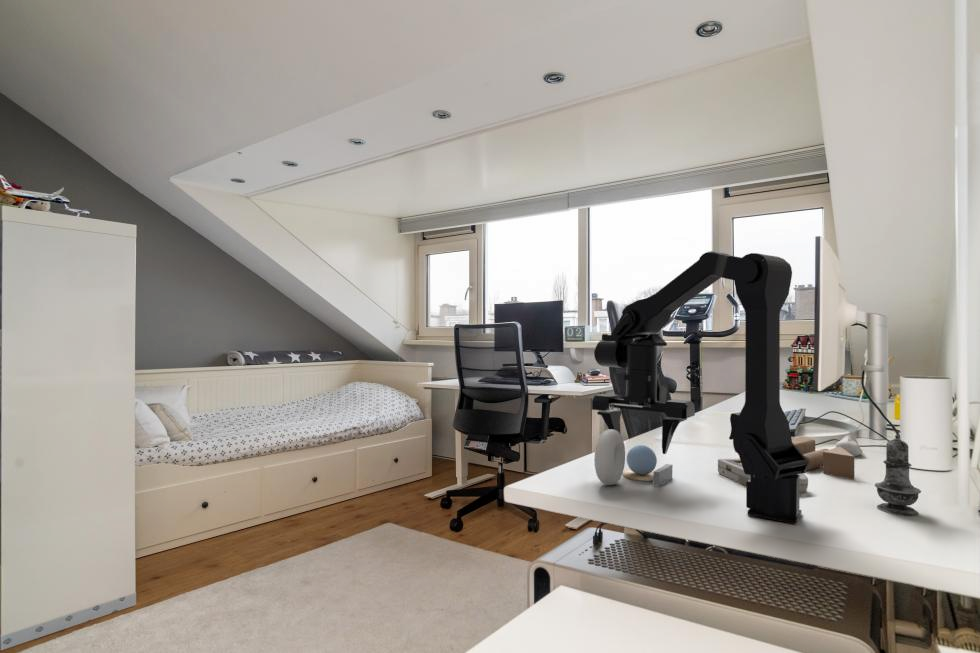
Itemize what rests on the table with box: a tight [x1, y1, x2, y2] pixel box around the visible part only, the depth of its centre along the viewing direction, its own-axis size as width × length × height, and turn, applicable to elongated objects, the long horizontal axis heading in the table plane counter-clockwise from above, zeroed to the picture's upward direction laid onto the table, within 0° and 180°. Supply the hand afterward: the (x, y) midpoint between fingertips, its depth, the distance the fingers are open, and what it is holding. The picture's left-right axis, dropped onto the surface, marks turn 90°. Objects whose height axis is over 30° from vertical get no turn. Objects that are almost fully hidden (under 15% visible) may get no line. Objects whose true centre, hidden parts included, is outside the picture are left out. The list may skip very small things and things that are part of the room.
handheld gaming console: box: [717, 458, 809, 494], centre depth 101 cm, size 9×4×15 cm
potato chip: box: [622, 469, 654, 482], centre depth 104 cm, size 7×7×1 cm
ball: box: [626, 444, 658, 475], centre depth 105 cm, size 6×6×6 cm
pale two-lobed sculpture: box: [835, 434, 864, 457], centre depth 128 cm, size 4×8×5 cm
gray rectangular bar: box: [652, 463, 673, 487], centre depth 101 cm, size 1×8×2 cm, turn 143°
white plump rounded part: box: [594, 428, 626, 486], centre depth 98 cm, size 10×4×10 cm, turn 149°
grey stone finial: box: [874, 433, 922, 517], centre depth 86 cm, size 6×6×12 cm
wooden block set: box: [791, 436, 855, 480], centre depth 116 cm, size 17×6×18 cm
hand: (640, 450), depth 105 cm, fingers open, 9 cm apart
